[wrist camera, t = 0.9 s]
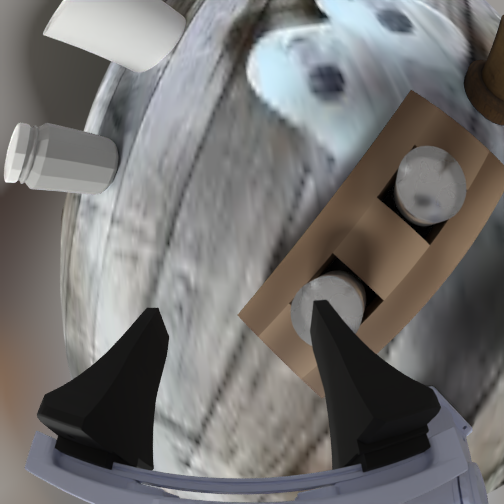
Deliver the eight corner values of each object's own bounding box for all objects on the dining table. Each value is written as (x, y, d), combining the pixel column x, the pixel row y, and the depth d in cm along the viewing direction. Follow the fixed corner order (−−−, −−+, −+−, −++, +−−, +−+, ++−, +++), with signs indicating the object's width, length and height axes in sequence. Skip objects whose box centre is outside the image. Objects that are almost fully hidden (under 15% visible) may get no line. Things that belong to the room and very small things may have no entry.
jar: (100, 138, 40) (15, 120, 24) (128, 140, 36) (25, 114, 20) (87, 190, 42) (0, 182, 26) (112, 200, 38) (7, 192, 22)
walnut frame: (490, 186, 16) (512, 174, 12) (334, 372, 23) (322, 398, 19) (407, 116, 19) (411, 89, 15) (262, 303, 27) (237, 315, 22)
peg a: (458, 193, 15) (478, 179, 11) (426, 239, 16) (440, 238, 12) (414, 155, 16) (421, 131, 12) (382, 199, 18) (382, 186, 14)
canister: (186, 4, 31) (108, -48, 13) (185, 45, 31) (84, -14, 13) (134, 40, 37) (58, 5, 20) (127, 85, 37) (33, 51, 19)
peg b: (378, 297, 18) (377, 313, 14) (338, 338, 20) (326, 362, 15) (335, 257, 20) (322, 262, 15) (299, 300, 21) (277, 314, 17)
